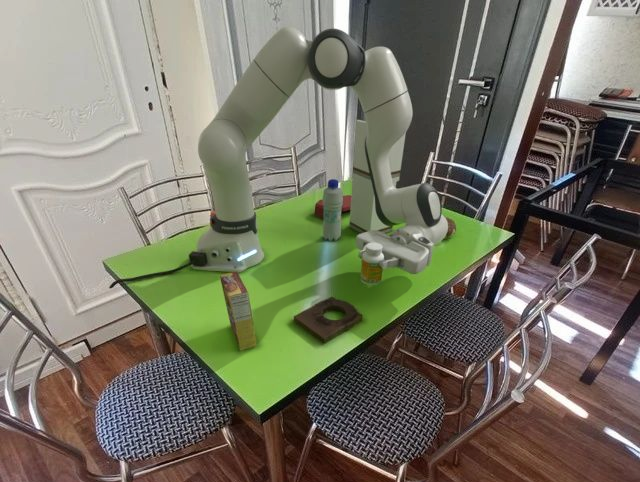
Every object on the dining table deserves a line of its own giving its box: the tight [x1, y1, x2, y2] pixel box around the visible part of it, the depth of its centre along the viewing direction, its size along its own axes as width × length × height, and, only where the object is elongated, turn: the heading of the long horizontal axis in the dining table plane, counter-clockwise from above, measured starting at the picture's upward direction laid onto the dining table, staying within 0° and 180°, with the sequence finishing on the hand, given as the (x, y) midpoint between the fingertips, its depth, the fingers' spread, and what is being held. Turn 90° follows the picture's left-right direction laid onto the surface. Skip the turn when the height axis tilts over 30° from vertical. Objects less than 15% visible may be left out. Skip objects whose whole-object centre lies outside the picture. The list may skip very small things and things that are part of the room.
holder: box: [293, 295, 364, 345], centre depth 90 cm, size 14×11×2 cm
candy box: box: [219, 272, 258, 352], centre depth 80 cm, size 9×4×15 cm, turn 24°
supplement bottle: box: [360, 243, 384, 286], centre depth 92 cm, size 5×5×10 cm
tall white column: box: [349, 119, 407, 234], centre depth 122 cm, size 11×11×35 cm
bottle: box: [321, 178, 344, 242], centre depth 121 cm, size 7×7×20 cm
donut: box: [443, 215, 457, 240], centre depth 129 cm, size 14×14×5 cm
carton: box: [313, 194, 351, 220], centre depth 147 cm, size 12×5×25 cm
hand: (370, 260), depth 90 cm, fingers closed on supplement bottle, 5 cm apart
